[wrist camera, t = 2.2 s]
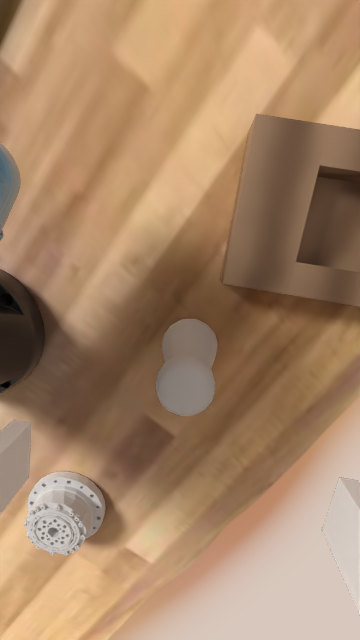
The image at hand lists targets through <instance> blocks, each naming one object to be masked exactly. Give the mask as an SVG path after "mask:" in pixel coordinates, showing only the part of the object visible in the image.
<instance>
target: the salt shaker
mask: <svg viewBox="0 0 360 640" xmlns="http://www.w3.org/2000/svg"><path fill="white" fill-rule="evenodd" d="M161 347H162V354H163V361H164V365H163V366H162V368H161V369H160V370H159V372H158V376H157V381H156V392H157V396H158V399H159V402H160V403H161V404H162V405H163V406H164V407H165V408H166V409H167V411H169V412H172V413H174V414H177V415H179V416H194V415H196V414H198V413H200V412H202V411H204V410H205V409H206V408H207V407H208V406H209V404H210V403H211V402H212V400H213V396H214V392H215V387H216V384H215V380H214V376H213V372H212V369H211V368H212V366H213V363H214V360H215V358H216V353H217V348H218V343H217V339H216V335H215V333H214V332H213V331H212V329H211V328H210V327H209V326H208V325H207V324H206V323H204V322H202V321H199V320H197V319H181V320H179V321H178V322H176V323H174V324H172V325H171V326H170V327H169V328H168V330H167V331H166V332H165V334H164V336H163V341H162V346H161Z"/></svg>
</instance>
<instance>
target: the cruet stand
mask: <svg viewBox="0 0 360 640" xmlns="http://www.w3.org/2000/svg"><path fill="white" fill-rule="evenodd" d="M220 281H221V282H222V283H223V284H227V285H233V286H239V287H245V288H251V289H257V290H263V291H269V292H275V293H281V294H287V295H292V296H298V297H304V298H310V299H316V300H322V301H328V302H334V303H340V304H346V305H352V306H358V307H360V130H358V129H352V128H345V127H339V126H332V125H326V124H319V123H313V122H306V121H300V120H293V119H287V118H280V117H274V116H267V115H261V114H256V116H255V118H254V121H253V123H252V125H251V128H250V130H249V133H248V137H247V142H246V147H245V152H244V157H243V163H242V168H241V173H240V178H239V183H238V189H237V194H236V199H235V204H234V209H233V215H232V220H231V225H230V230H229V235H228V241H227V246H226V251H225V256H224V261H223V267H222V272H221V277H220Z"/></svg>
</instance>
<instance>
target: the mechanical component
mask: <svg viewBox="0 0 360 640" xmlns="http://www.w3.org/2000/svg"><path fill="white" fill-rule="evenodd" d="M105 510H106V506H105V500H104V497H103V495H102V492H101V491H100V490H99V488H98V487H97V486H96V485H95V484H94V483H93V482H92V481H91V480H89V479H88V478H86V477H84V476H82V475H80V474H77V473H72V472H54V473H51V474H48V475H46V476H45V477H43V478H42V479H40V480H39V482H38V483H37V484H36V485H35V487H34V488H33V490H32V491H31V493H30V495H29V498H28V512H29V513H28V516H27V518H26V522H25V523H24V526H26V531H27V533H28V535H27V538H28V539H31V544H36V548H37V549H40V548H42V549H44V550H46V551H49V554H50V555H53V554H54V553H57V554H58V553H64V555H68V553H69V552H70V553H74V551H75V550H79V548H80V546H81V545H82V544H83V543H84V541H85V539H87V538H89V537H91V536H92V535H93V534H95V533H96V532H97V530H98V529H99V527H100V526H101V524H102V521H103V518H104V515H105Z"/></svg>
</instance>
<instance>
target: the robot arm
mask: <svg viewBox="0 0 360 640" xmlns="http://www.w3.org/2000/svg"><path fill="white" fill-rule="evenodd" d="M20 183H21V181H20V173H19V169H18V166H17V164H16V162H15V160H14V158H13V157H12V155H11V154H10V153H9V151H8V150H7V149H6V148H5V147H4V146H3V145H2V144H1V143H0V241H1V239H2V238H3V231H2V229H3V227H4V224H5V222H6V220H7V218H8V215H9V213H10V211H11V209H12V206H13V204H14V202H15V199H16V197H17V195H18V193H19V189H20ZM43 346H44V327H43V322H42V318H41V315H40V312H39V310H38V307H37V305H36V303H35V302H34V300H33V298H32V297H31V295H30V294H29V293H28V291H27V290H26V289H25V288H24V287H23V286H22V285H21V284H20V283H19V282H18V281H17V280H16V279H14V278H13V277H12V276H10V275H9V274H7V273H6V272H4V271H2V270H0V393H3V392H5V391H7V390H9V389H11V388H12V387H14V386H15V385H16V384H18V383H19V382H21V381H22V380H23V379H25V378H26V377H27V376H28V375H29V374H30V373H31V372H32V371H33V370H34V368H35V367H36V365H37V364H38V362H39V360H40V357H41V355H42V351H43ZM30 446H31V422H25V421H20V420H13V421H12V422H11V423H10V424H8V425H7V426H6V427H5V428H4V429H3V430H2V431H1V432H0V515H1V513H2V512H3V511H4V509H5V508H6V507H7V505H8V504H9V503H10V501H11V500H12V499H13V497H14V496H15V495H16V494H17V492H18V491H19V490H20V488H21V487H22V486H23V484H24V483H25V482H26V480H27V479H28V478H29V470H30ZM322 532H323V534H324V536H325V538H326V541H327V543H328V545H329V547H330V550H331V552H332V554H333V556H334V559H335V561H336V563H337V565H338V568H339V570H340V572H341V574H342V576H343V579H344V581H345V583H346V585H347V588H348V590H349V592H350V594H351V597H352V599H353V601H354V603H355V605H356V608H357V610H358V612H359V614H360V483H359V482H358V480H353V479H347V478H341V477H340V478H339V480H338V483H337V486H336V488H335V492H334V495H333V497H332V500H331V503H330V506H329V509H328V512H327V515H326V518H325V522H324V524H323V527H322Z"/></svg>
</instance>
